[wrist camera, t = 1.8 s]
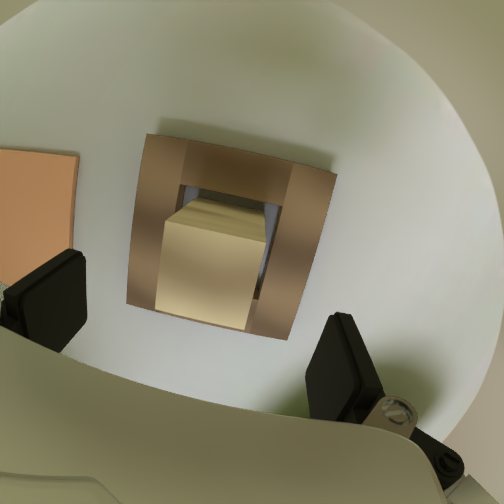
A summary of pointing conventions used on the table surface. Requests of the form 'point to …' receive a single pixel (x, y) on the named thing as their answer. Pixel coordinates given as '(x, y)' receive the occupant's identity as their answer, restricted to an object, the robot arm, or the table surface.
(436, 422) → the table surface
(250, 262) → the maple block
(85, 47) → the table surface
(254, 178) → the pocket block
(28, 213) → the pad
